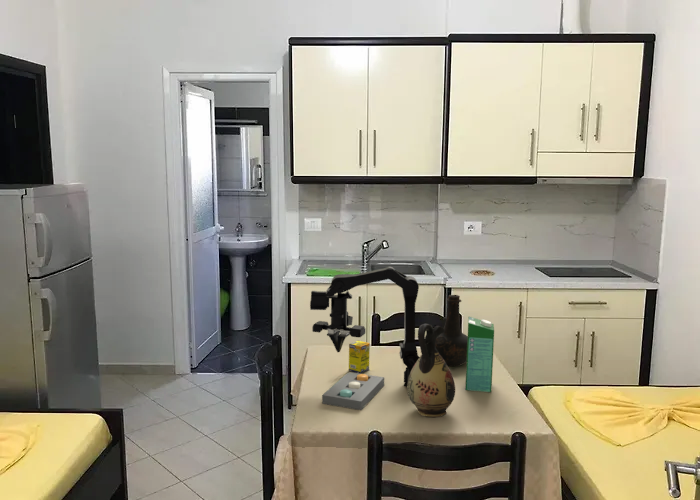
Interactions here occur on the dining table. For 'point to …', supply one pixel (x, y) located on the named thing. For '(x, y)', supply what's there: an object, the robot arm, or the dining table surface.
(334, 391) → the console
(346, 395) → the teal button
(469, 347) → the milk carton
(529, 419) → the dining table surface
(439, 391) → the ceramic jug
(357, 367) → the supplement box
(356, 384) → the cream button
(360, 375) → the orange button
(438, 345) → the glass bottle
